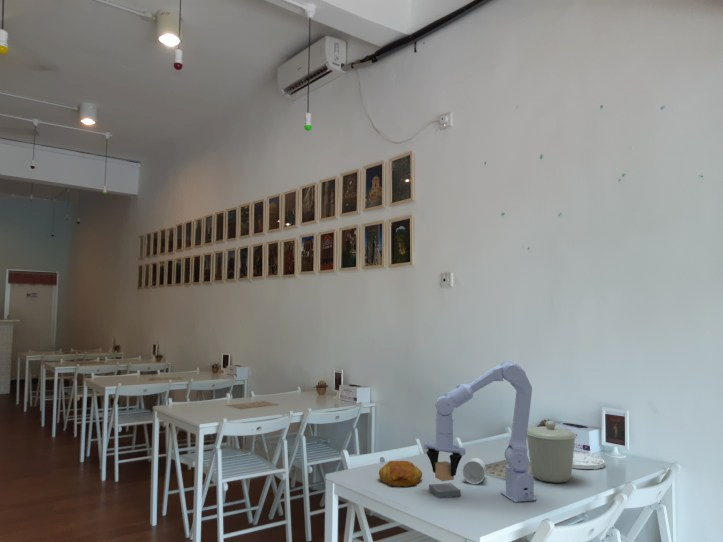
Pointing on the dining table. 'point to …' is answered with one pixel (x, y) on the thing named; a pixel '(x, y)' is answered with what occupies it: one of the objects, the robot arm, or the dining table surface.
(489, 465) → the dining table surface
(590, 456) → the embossed medallion
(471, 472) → the white cup
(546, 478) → the canister
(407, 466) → the croissant
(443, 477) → the tan rectangular block
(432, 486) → the slate coaster
